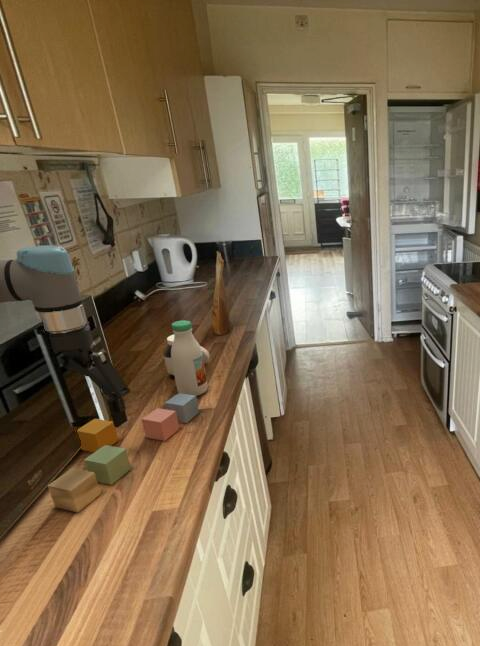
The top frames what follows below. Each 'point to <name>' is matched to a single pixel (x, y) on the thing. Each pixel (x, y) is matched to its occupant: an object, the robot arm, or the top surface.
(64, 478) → the birch block
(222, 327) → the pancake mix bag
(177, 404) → the blue-grey block
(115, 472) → the sage block
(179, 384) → the milk bottle
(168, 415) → the dusty pink block
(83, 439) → the ochre block
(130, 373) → the top surface
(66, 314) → the robot arm
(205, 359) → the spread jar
